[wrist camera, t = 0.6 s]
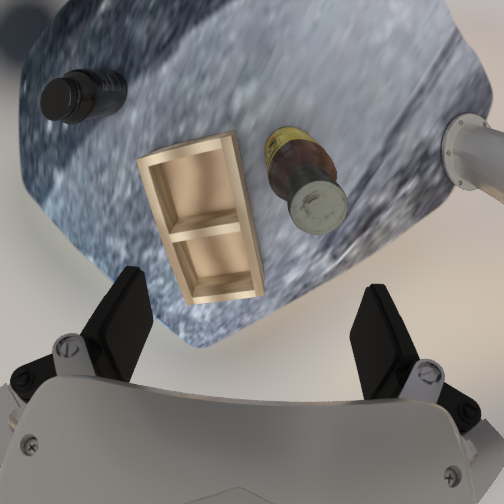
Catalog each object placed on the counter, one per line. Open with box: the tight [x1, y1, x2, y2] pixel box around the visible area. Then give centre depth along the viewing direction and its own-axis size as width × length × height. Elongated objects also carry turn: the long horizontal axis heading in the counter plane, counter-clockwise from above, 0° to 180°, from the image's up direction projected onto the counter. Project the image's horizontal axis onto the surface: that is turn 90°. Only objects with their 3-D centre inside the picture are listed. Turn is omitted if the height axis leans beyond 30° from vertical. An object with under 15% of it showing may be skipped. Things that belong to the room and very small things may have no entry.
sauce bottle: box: [265, 127, 348, 235], centre depth 27 cm, size 7×6×20 cm
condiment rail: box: [136, 130, 265, 305], centre depth 38 cm, size 11×22×6 cm, turn 11°
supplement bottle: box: [40, 69, 126, 124], centre depth 26 cm, size 7×7×12 cm
